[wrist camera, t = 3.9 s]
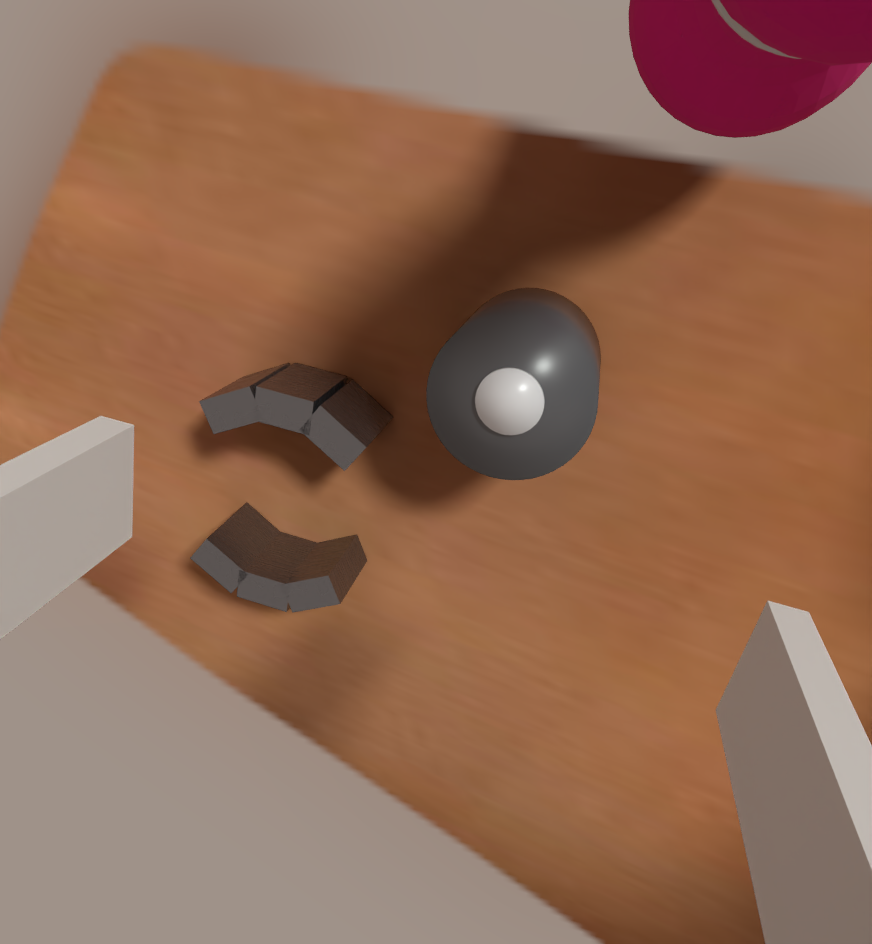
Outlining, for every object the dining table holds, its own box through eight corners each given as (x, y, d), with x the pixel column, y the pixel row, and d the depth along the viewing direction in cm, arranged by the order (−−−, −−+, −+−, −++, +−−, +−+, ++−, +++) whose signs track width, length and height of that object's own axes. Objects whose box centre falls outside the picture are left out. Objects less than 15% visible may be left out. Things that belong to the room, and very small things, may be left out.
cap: (475, 272, 30) (443, 296, 24) (619, 307, 29) (620, 340, 23) (446, 407, 32) (411, 457, 26) (578, 442, 31) (570, 501, 26)
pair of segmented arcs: (245, 349, 33) (200, 371, 29) (398, 389, 32) (371, 417, 29) (229, 542, 37) (188, 581, 34) (363, 582, 37) (336, 627, 33)
